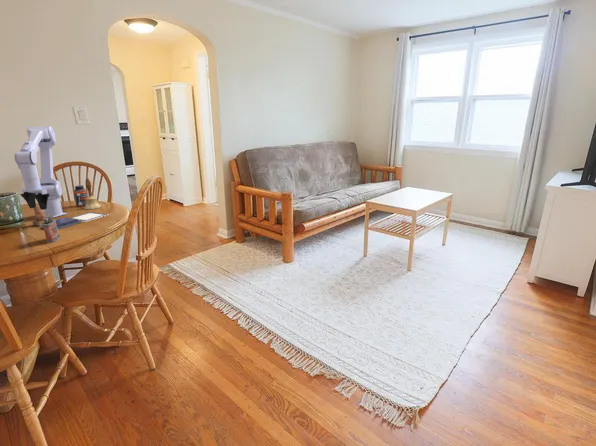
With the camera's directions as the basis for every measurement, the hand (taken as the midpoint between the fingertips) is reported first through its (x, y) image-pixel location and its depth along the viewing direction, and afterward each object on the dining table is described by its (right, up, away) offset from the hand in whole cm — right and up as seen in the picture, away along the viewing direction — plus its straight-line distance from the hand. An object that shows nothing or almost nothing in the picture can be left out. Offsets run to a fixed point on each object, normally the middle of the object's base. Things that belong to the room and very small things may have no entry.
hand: (38, 208), depth 153 cm
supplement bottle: (-2, +3, +35) cm, 35 cm away
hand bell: (+6, +2, +31) cm, 32 cm away
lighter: (+20, -13, -18) cm, 30 cm away
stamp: (0, -7, +2) cm, 8 cm away
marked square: (+14, -4, +13) cm, 20 cm away
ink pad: (+10, -8, +1) cm, 13 cm away
